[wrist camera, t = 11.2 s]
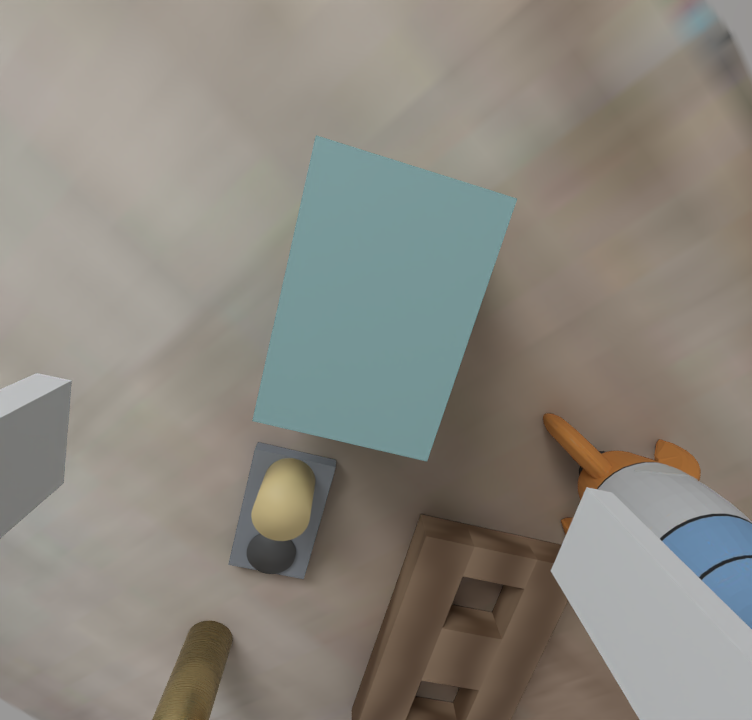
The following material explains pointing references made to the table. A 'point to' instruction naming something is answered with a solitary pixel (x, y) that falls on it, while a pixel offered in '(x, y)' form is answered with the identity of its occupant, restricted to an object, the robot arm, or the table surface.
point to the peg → (196, 674)
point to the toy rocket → (672, 510)
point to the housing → (378, 300)
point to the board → (462, 625)
